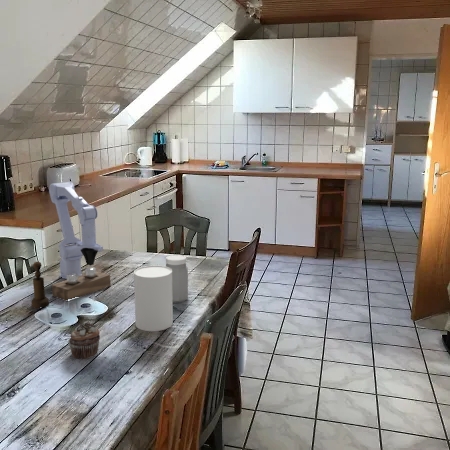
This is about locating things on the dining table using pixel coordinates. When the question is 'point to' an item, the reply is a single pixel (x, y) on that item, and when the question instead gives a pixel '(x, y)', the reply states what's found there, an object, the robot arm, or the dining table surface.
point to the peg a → (72, 279)
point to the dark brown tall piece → (39, 289)
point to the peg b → (90, 272)
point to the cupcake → (84, 341)
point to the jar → (178, 277)
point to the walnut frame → (81, 286)
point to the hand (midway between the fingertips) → (90, 264)
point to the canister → (153, 298)
